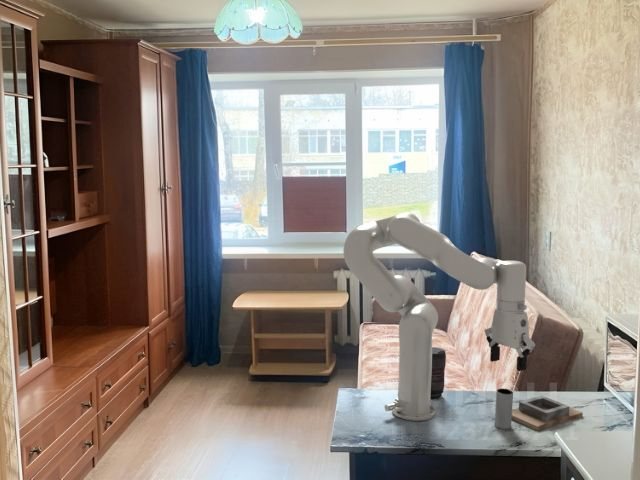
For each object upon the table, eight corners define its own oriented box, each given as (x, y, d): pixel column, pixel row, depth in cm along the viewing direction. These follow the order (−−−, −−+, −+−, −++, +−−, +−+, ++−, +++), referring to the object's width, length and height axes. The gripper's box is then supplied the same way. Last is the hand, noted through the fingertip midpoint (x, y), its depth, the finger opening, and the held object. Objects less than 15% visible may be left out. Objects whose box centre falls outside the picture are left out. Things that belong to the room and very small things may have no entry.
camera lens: (448, 394, 216) (450, 349, 214) (438, 402, 210) (440, 355, 208) (424, 389, 221) (426, 344, 219) (414, 396, 214) (415, 350, 212)
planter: (511, 430, 190) (513, 394, 189) (494, 428, 191) (497, 393, 190) (510, 423, 195) (512, 389, 193) (494, 422, 195) (496, 387, 194)
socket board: (536, 430, 190) (537, 417, 190) (504, 415, 200) (504, 403, 200) (582, 416, 201) (583, 404, 200) (549, 403, 211) (550, 391, 210)
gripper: (544, 310, 183) (541, 371, 185) (496, 298, 197) (494, 355, 199) (525, 313, 179) (523, 376, 181) (477, 301, 193) (475, 359, 195)
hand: (507, 365), depth 190 cm, fingers open, 9 cm apart
